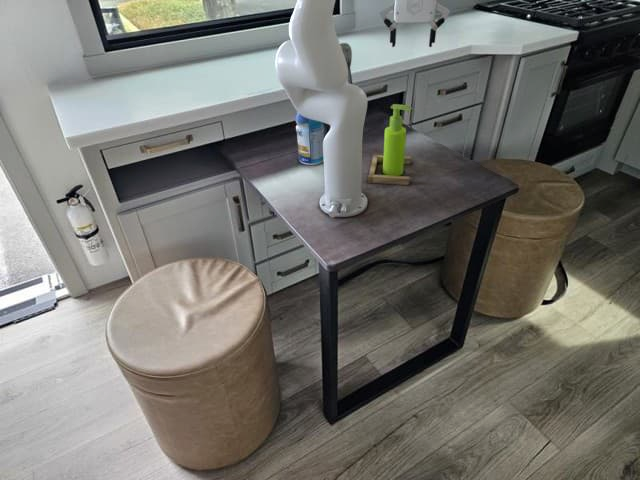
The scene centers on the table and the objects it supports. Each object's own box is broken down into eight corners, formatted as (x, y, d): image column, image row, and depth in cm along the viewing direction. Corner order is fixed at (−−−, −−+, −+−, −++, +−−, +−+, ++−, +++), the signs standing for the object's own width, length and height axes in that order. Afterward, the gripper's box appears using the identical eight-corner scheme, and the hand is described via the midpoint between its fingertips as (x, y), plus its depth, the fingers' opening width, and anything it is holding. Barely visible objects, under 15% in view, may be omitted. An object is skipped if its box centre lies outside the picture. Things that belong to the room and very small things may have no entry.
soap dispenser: (401, 179, 123) (407, 111, 110) (379, 174, 126) (382, 107, 113) (409, 170, 127) (415, 103, 114) (387, 165, 130) (391, 100, 117)
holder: (408, 185, 120) (409, 178, 119) (368, 182, 122) (368, 176, 121) (410, 162, 131) (411, 156, 129) (373, 160, 133) (373, 154, 132)
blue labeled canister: (324, 165, 131) (321, 101, 119) (297, 166, 132) (291, 102, 120) (326, 153, 138) (323, 91, 126) (300, 153, 139) (294, 92, 126)
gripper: (380, -27, 103) (378, 49, 113) (455, -29, 99) (445, 49, 110) (383, -31, 109) (380, 42, 119) (454, -33, 105) (445, 42, 116)
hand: (411, 45), depth 114 cm, fingers open, 9 cm apart
